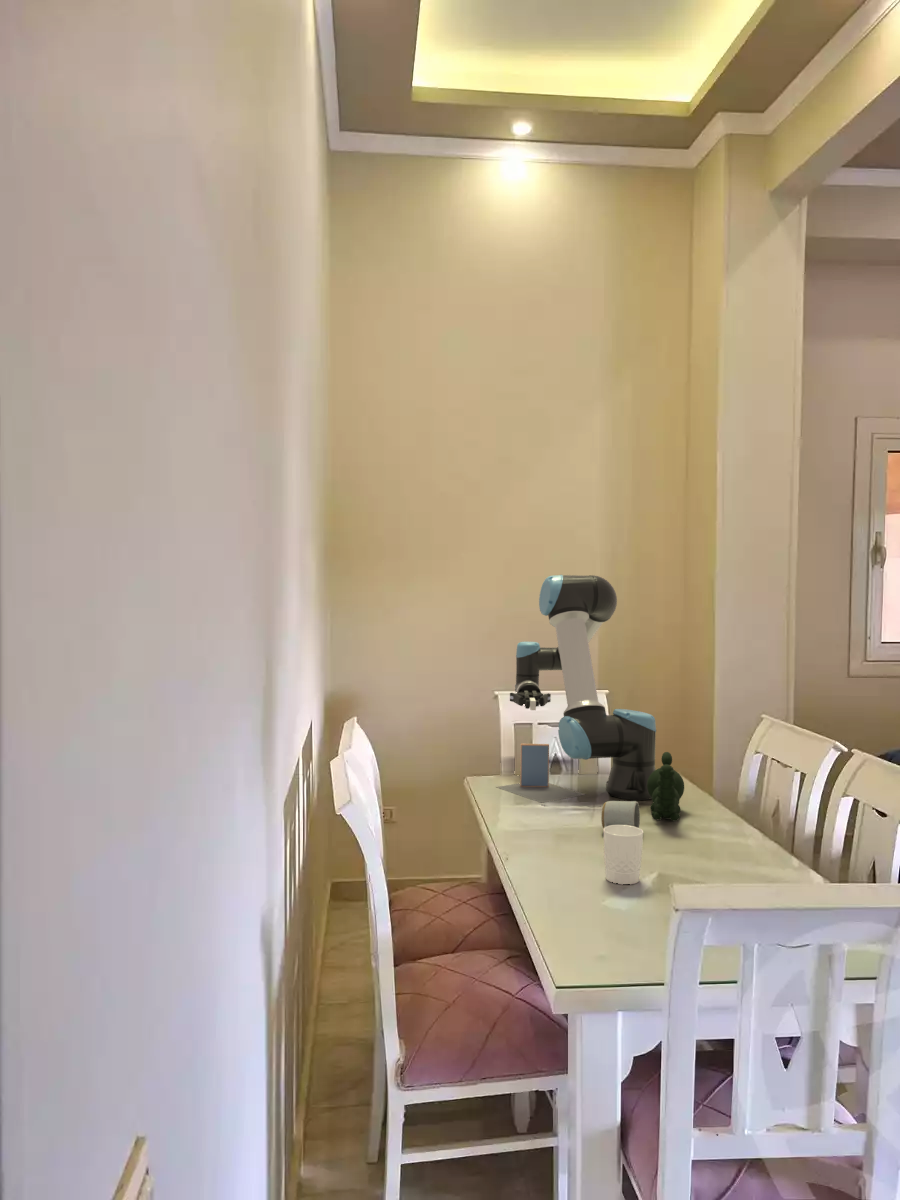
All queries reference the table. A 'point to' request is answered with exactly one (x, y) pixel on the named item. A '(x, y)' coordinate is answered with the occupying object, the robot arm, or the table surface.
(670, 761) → the toy figurine
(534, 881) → the table surface
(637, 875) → the white cup
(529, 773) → the tile
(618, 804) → the ceramic mug
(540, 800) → the mat
